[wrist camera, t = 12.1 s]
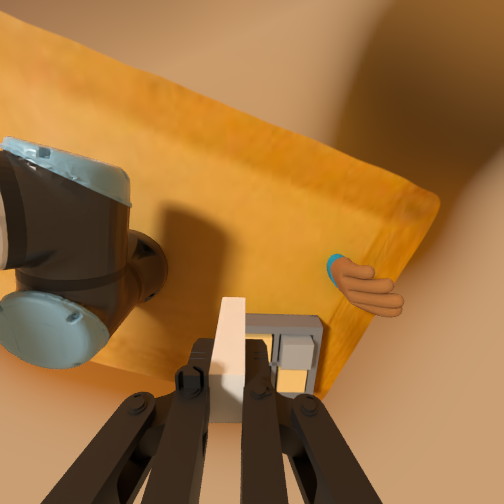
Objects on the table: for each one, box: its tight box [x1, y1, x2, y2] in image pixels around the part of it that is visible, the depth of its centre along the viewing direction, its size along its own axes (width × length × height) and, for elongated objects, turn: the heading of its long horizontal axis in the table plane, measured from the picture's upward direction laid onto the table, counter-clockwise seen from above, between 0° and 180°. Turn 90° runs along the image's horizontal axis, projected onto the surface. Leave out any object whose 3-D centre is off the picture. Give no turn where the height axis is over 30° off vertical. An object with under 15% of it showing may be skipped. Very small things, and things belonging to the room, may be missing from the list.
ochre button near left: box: [245, 333, 272, 362], centre depth 53 cm, size 6×6×4 cm
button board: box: [245, 313, 323, 398], centre depth 55 cm, size 18×18×4 cm
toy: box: [327, 254, 404, 317], centre depth 44 cm, size 12×7×15 cm, turn 27°
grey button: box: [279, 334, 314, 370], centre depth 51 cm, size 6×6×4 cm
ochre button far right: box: [275, 366, 307, 392], centre depth 56 cm, size 6×6×4 cm
